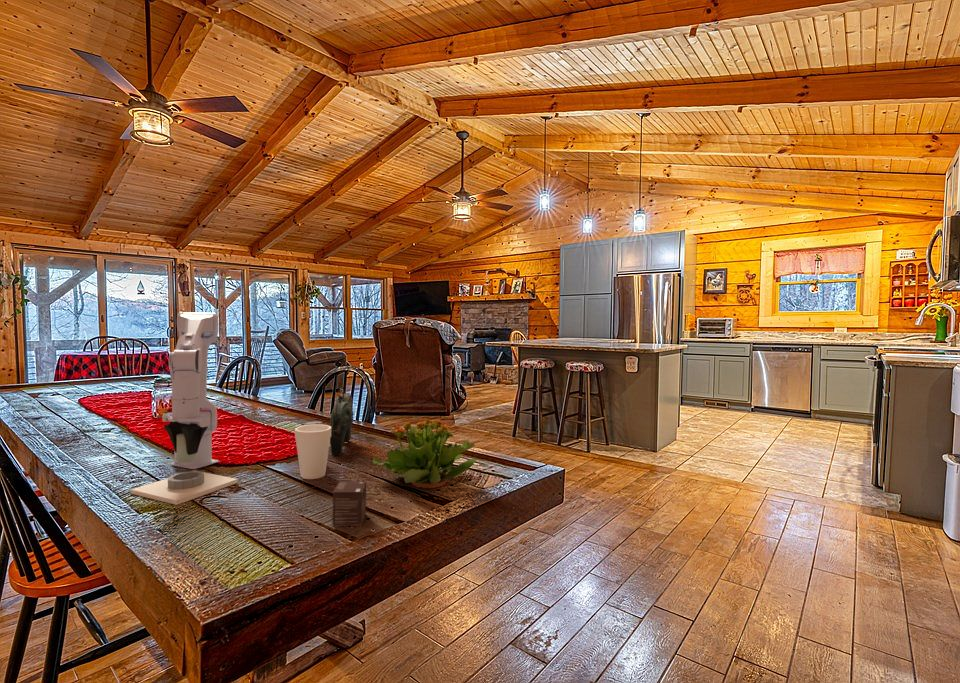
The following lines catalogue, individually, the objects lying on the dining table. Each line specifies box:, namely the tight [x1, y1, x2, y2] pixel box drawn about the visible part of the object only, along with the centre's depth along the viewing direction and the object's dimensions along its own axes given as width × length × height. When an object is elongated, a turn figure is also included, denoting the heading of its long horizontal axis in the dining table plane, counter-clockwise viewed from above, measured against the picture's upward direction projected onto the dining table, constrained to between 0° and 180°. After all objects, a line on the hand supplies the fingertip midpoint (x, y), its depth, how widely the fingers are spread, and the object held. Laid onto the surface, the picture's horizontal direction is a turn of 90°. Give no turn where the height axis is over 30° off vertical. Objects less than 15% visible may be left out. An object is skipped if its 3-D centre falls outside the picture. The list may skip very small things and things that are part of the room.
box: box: [332, 481, 367, 527], centre depth 99 cm, size 6×6×7 cm
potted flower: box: [372, 418, 477, 489], centre depth 123 cm, size 25×24×18 cm
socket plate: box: [130, 469, 238, 506], centre depth 115 cm, size 16×16×3 cm
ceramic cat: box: [329, 387, 354, 456], centre depth 155 cm, size 20×6×20 cm, turn 6°
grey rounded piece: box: [177, 433, 196, 463], centre depth 115 cm, size 4×4×6 cm
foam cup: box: [294, 423, 331, 480], centre depth 127 cm, size 10×9×13 cm
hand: (186, 452), depth 115 cm, fingers closed on grey rounded piece, 4 cm apart
